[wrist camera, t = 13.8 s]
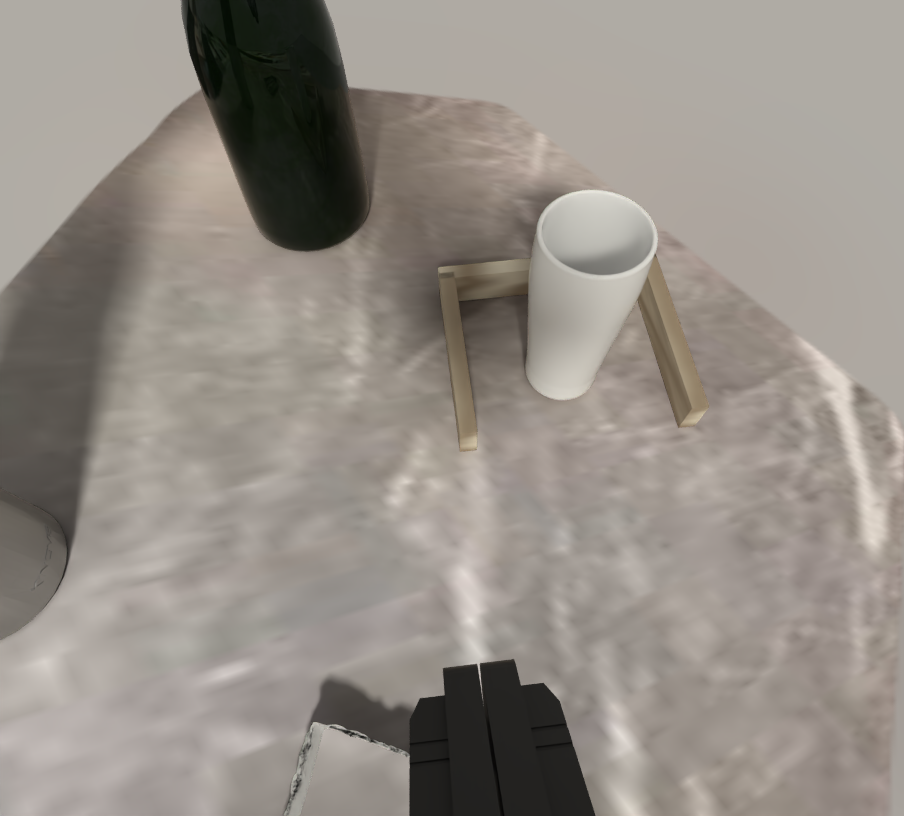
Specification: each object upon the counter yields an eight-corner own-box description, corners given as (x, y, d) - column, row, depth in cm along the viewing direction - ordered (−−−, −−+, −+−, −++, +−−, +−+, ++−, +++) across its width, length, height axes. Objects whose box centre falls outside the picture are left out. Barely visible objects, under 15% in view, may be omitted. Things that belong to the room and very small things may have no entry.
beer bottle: (289, 275, 51) (57, -322, 22) (235, 203, 55) (-20, -381, 26) (393, 221, 54) (309, -374, 25) (334, 156, 58) (203, -420, 29)
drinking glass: (599, 336, 48) (651, 186, 34) (608, 412, 45) (669, 279, 31) (513, 336, 48) (532, 186, 35) (516, 411, 45) (538, 279, 31)
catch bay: (460, 451, 43) (459, 433, 41) (439, 291, 50) (438, 267, 47) (694, 425, 44) (709, 406, 41) (642, 271, 51) (652, 245, 48)
